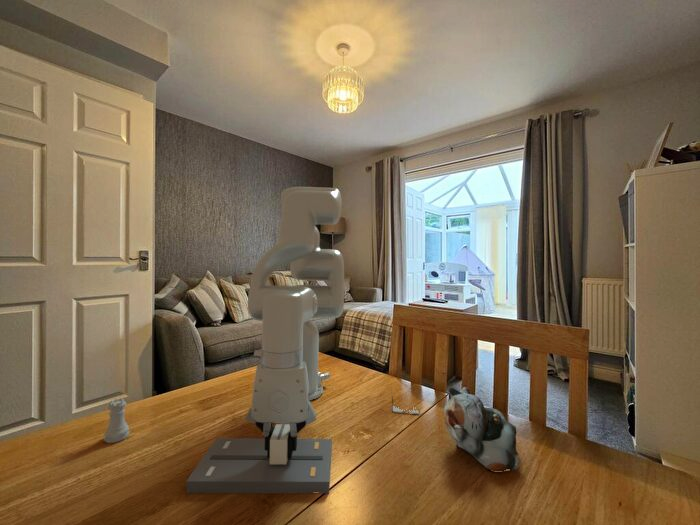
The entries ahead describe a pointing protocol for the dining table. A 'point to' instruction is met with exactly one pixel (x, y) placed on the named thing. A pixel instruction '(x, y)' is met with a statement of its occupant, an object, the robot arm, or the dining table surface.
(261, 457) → the grey slotted panel
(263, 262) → the robot arm
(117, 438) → the rook chess piece
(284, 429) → the fader
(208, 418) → the dining table surface
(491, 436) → the lucky cat figurine
